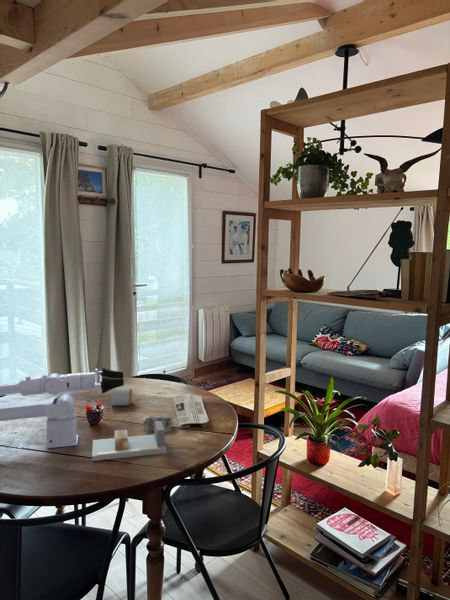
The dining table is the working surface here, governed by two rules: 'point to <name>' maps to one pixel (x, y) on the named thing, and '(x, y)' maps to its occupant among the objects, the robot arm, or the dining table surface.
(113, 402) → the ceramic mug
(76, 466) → the dining table surface
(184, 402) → the newspaper
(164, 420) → the egg carton
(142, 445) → the gauge bed
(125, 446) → the beige block with peg
